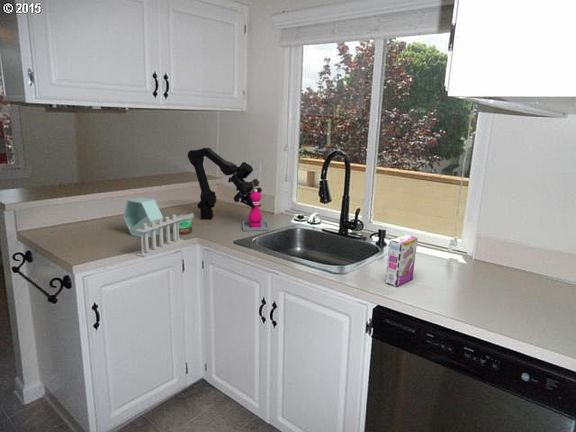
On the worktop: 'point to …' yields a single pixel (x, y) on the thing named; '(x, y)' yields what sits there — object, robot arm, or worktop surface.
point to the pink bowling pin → (255, 210)
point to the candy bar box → (401, 260)
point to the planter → (141, 215)
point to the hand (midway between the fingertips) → (257, 207)
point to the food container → (184, 223)
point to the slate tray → (263, 227)
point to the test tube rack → (153, 234)
